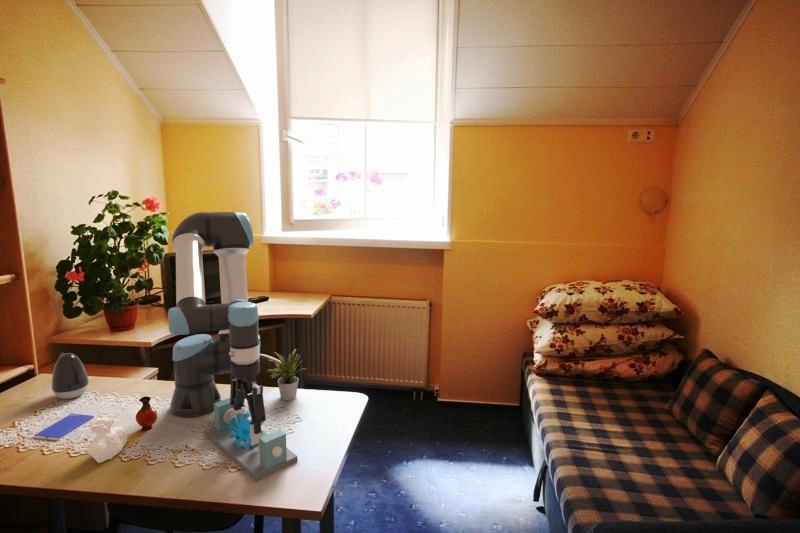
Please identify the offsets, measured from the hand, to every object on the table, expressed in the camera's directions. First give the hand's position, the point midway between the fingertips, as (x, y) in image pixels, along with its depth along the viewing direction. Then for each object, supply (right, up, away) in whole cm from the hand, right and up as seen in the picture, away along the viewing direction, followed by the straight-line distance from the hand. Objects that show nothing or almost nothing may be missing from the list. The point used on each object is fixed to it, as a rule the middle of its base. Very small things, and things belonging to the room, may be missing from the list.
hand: (248, 436), depth 126 cm
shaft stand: (0, -3, +1) cm, 3 cm away
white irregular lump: (-37, -3, -4) cm, 37 cm away
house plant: (+3, +2, +32) cm, 33 cm away
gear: (0, -2, 0) cm, 2 cm away
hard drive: (-58, -1, +9) cm, 58 cm away
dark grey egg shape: (-71, +3, +29) cm, 76 cm away
